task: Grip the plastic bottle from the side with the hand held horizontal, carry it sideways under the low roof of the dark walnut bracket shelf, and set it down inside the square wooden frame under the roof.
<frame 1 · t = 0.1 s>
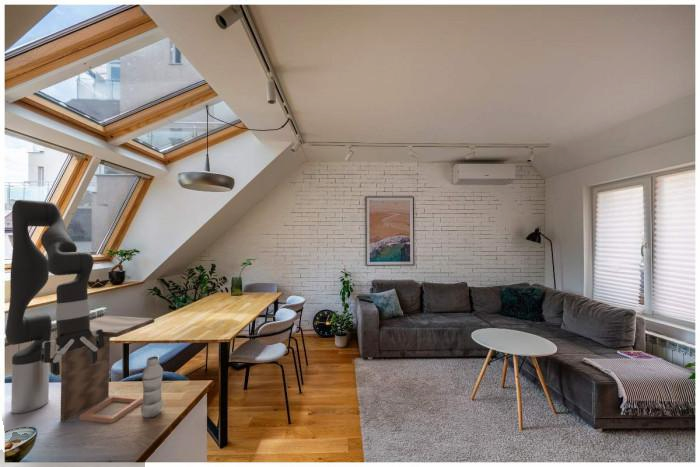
hand: (75, 369, 90), 22 cm above the counter, tool pointing down, fingers open, 8 cm apart
plastic bottle: (151, 414, 104), on the counter
bracket shelf: (112, 410, 106), on the counter
square wooden frame: (112, 410, 106), on the counter
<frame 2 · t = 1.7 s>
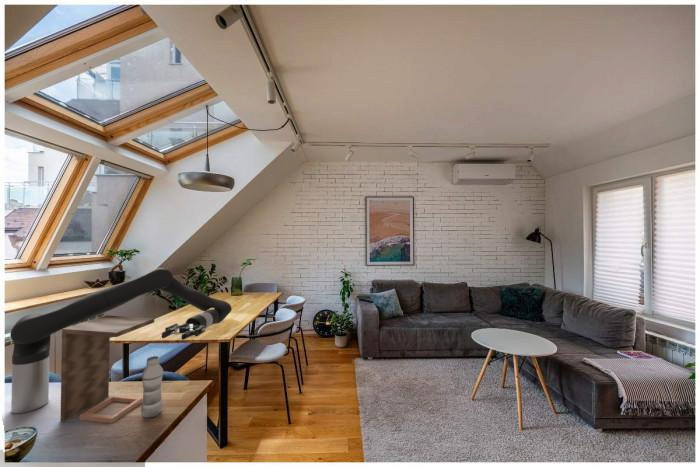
hand: (172, 336, 113), 25 cm above the counter, tool horizontal, fingers open, 8 cm apart
nothing on the counter moved.
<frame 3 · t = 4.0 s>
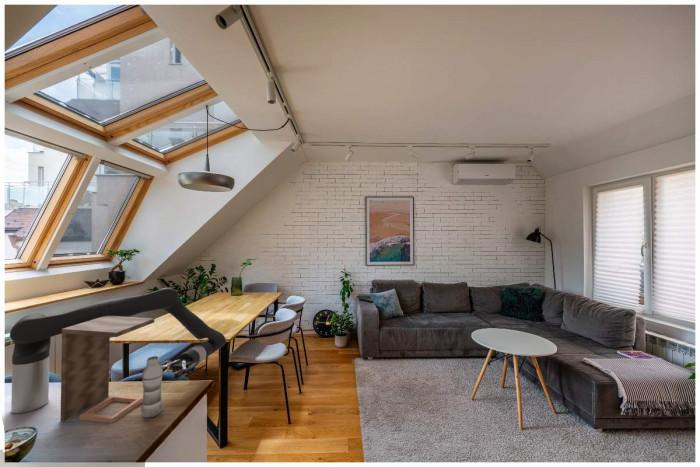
hand: (164, 375, 110), 11 cm above the counter, tool horizontal, fingers open, 8 cm apart
nothing on the counter moved.
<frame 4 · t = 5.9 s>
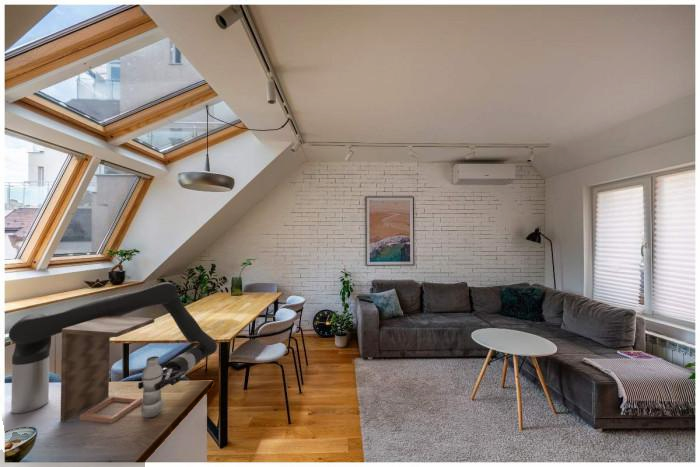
hand: (147, 387, 102), 11 cm above the counter, tool horizontal, fingers closed on plastic bottle, 6 cm apart
plastic bottle: (151, 414, 104), on the counter, touching gripper
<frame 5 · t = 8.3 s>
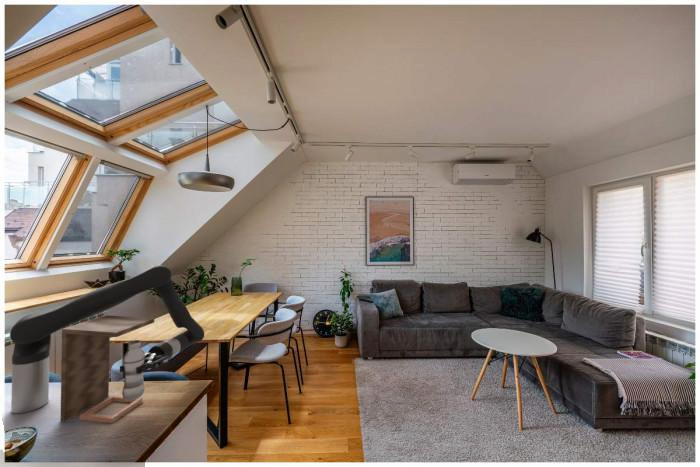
hand: (129, 370, 102), 16 cm above the counter, tool horizontal, fingers closed on plastic bottle, 6 cm apart
plastic bottle: (133, 398, 104), point 6 cm above the counter, touching gripper
when the fingers open (13 cm above the counter, at t = 10.8 s): plastic bottle drops 2 cm, resting in square wooden frame.
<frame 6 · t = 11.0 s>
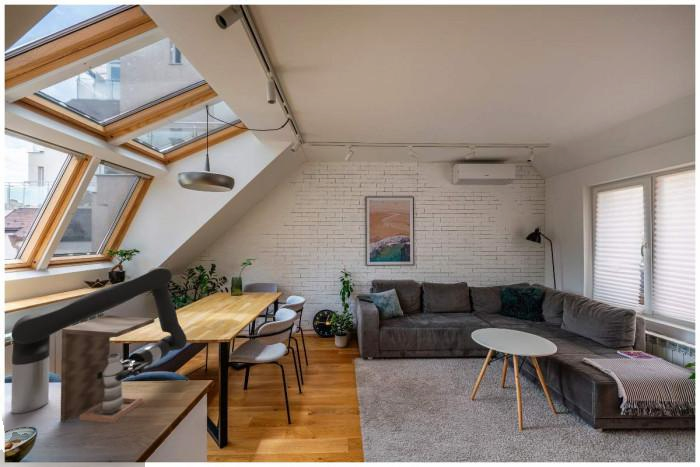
hand: (107, 377, 103), 13 cm above the counter, tool horizontal, fingers open, 7 cm apart
plastic bottle: (111, 411, 105), resting in square wooden frame
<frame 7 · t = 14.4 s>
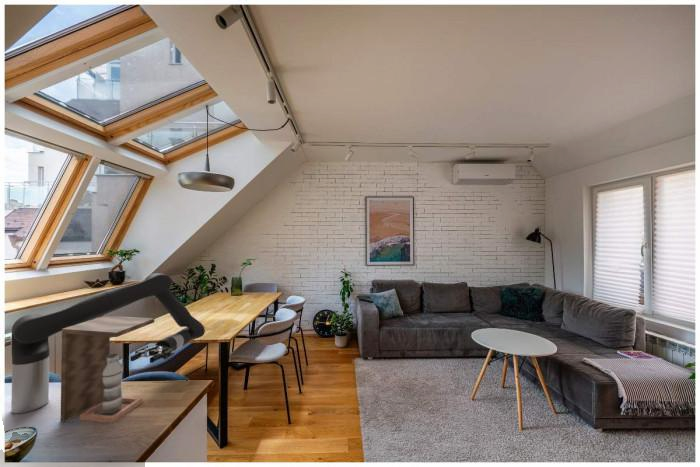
hand: (140, 359, 117), 13 cm above the counter, tool horizontal, fingers open, 8 cm apart
nothing on the counter moved.
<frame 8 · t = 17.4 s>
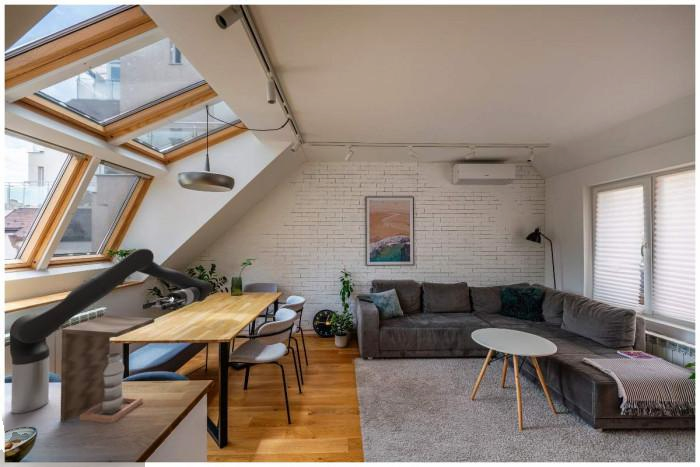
hand: (153, 307, 119), 34 cm above the counter, tool horizontal, fingers open, 8 cm apart
nothing on the counter moved.
at the end: plastic bottle 0.3 cm off-centre on the square wooden frame, point 0.0 cm above the square wooden frame's base; plastic bottle tilted 1°; the gripper is holding nothing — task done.
